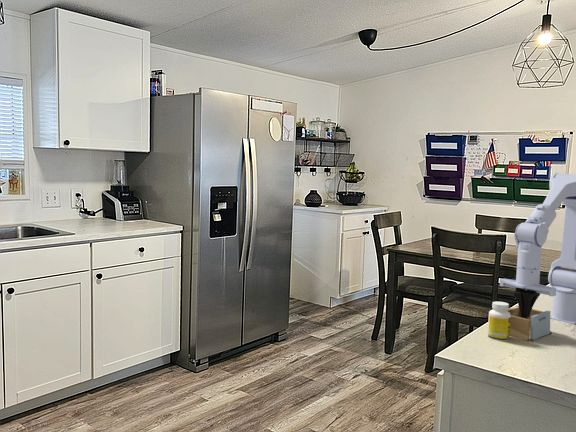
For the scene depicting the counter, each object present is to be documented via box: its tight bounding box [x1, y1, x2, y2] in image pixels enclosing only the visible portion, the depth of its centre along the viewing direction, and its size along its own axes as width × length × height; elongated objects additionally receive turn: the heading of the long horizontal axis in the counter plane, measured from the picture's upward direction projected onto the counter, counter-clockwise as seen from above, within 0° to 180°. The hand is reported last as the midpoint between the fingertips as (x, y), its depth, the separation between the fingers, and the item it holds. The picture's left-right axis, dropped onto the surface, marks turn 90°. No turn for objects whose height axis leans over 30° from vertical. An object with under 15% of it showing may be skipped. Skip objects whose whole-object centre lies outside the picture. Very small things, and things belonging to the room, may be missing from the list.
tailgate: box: [530, 310, 551, 341], centre depth 139 cm, size 9×1×6 cm, turn 129°
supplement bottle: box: [486, 301, 511, 342], centre depth 138 cm, size 5×5×10 cm
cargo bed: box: [507, 305, 553, 343], centre depth 143 cm, size 12×10×6 cm
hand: (525, 316), depth 142 cm, fingers closed
